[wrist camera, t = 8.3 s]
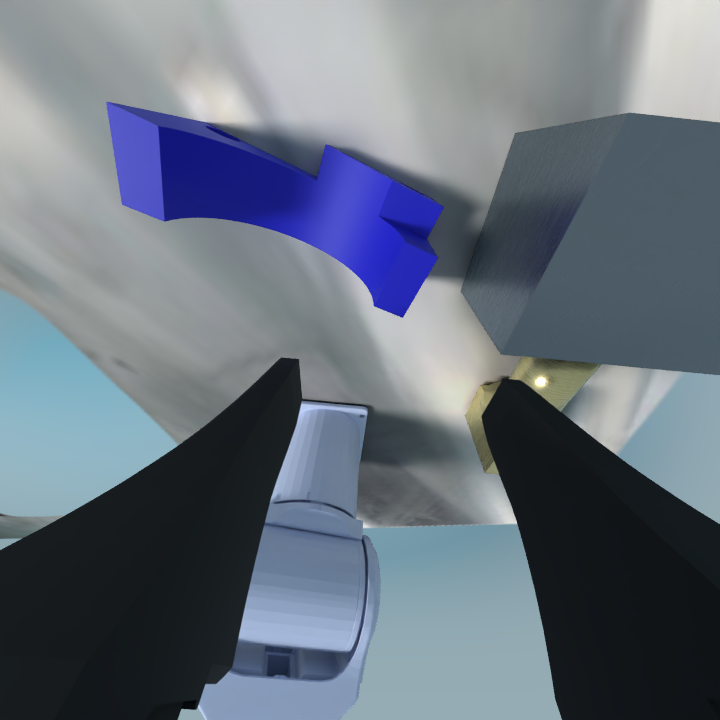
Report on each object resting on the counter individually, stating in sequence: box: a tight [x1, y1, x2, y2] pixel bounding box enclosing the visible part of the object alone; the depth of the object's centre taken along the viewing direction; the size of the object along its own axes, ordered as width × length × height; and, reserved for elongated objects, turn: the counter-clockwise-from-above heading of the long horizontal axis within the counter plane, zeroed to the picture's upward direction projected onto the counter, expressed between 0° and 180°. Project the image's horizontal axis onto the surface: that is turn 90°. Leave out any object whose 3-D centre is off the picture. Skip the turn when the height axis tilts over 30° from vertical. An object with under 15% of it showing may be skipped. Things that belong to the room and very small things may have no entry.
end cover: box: [465, 356, 601, 474], centre depth 19 cm, size 10×6×6 cm, turn 175°
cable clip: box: [106, 102, 444, 318], centre depth 12 cm, size 12×4×6 cm, turn 68°
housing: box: [461, 113, 720, 375], centre depth 12 cm, size 9×12×7 cm
